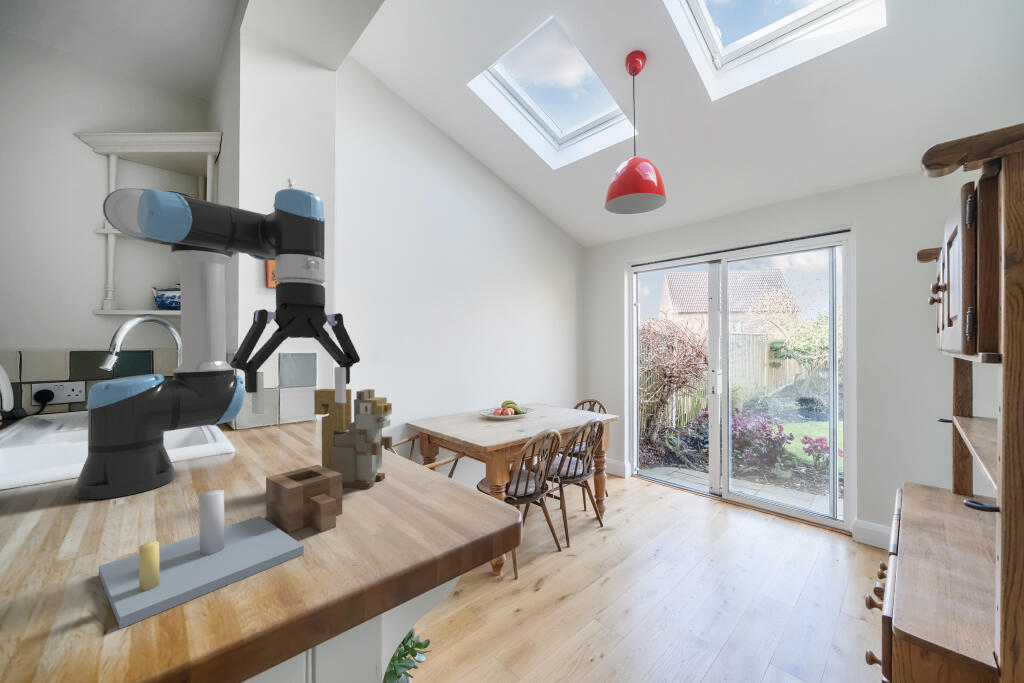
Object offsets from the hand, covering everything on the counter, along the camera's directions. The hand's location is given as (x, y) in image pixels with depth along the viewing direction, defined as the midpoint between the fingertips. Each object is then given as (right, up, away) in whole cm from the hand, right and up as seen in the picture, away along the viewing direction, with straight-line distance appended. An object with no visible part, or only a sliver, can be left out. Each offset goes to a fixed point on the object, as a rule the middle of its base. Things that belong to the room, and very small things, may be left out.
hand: (302, 407), depth 69 cm
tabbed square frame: (+1, -19, 0) cm, 19 cm away
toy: (+1, -19, +19) cm, 27 cm away
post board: (-6, -19, -14) cm, 24 cm away
